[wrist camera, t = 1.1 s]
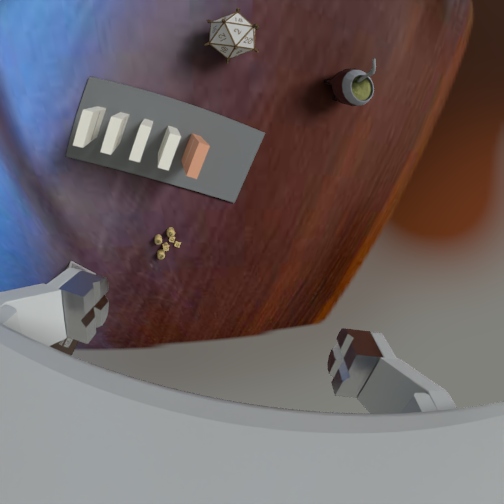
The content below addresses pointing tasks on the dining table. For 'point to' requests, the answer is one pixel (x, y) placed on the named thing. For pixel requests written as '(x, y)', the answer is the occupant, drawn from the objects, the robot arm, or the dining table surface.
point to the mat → (163, 115)
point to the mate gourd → (352, 86)
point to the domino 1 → (89, 126)
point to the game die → (232, 35)
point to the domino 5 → (194, 155)
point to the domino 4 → (168, 147)
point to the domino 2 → (114, 132)
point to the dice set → (165, 246)
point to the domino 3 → (141, 140)
